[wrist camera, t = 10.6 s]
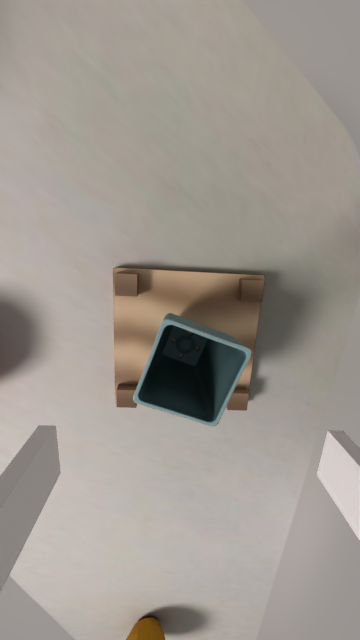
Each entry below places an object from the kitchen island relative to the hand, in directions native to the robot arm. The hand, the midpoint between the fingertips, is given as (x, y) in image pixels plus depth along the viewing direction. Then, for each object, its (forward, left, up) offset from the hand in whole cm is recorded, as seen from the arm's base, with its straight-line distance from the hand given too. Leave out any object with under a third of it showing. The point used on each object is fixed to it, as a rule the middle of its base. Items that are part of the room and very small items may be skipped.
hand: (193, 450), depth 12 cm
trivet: (+2, +1, -21) cm, 21 cm away
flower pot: (+2, +1, -20) cm, 20 cm away
